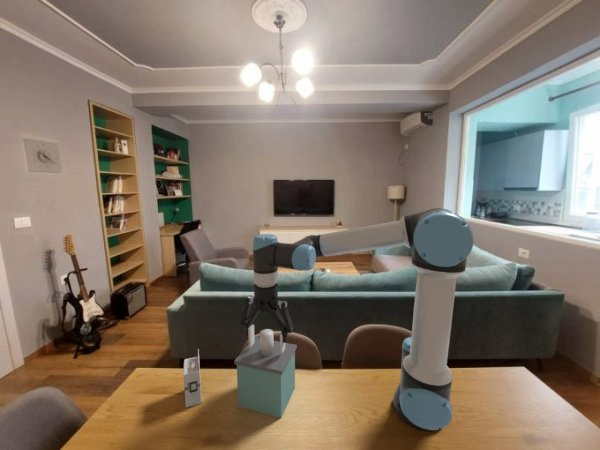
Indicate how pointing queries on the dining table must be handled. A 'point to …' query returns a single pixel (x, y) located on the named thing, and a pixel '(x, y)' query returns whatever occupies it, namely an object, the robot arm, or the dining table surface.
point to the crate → (266, 389)
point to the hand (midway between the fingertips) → (266, 347)
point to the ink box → (192, 381)
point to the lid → (266, 354)
